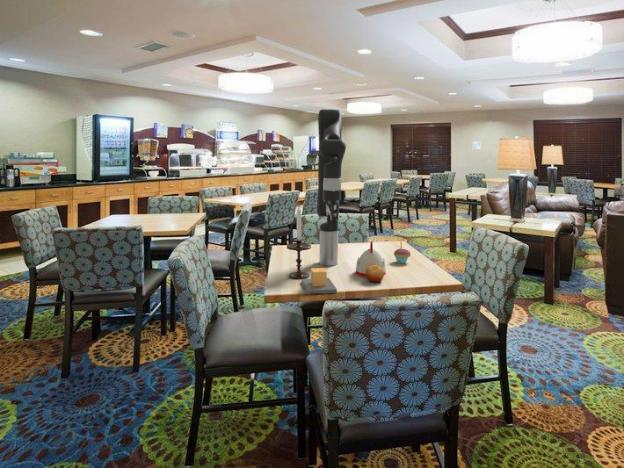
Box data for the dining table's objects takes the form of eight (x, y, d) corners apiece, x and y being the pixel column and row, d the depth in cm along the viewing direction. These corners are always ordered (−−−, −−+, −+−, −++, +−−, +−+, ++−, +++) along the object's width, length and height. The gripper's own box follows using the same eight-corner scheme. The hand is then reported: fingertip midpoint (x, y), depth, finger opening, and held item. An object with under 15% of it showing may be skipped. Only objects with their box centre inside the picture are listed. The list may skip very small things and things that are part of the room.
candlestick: (308, 280, 190) (308, 201, 184) (284, 279, 192) (283, 201, 186) (312, 273, 201) (313, 198, 194) (290, 272, 203) (289, 198, 196)
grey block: (301, 282, 188) (301, 268, 187) (328, 281, 190) (328, 267, 189) (307, 294, 172) (307, 279, 171) (336, 292, 174) (336, 278, 173)
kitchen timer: (384, 269, 208) (385, 239, 205) (386, 278, 195) (387, 245, 192) (355, 268, 210) (356, 238, 207) (355, 277, 196) (356, 245, 193)
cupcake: (390, 260, 225) (391, 238, 223) (404, 259, 228) (406, 237, 225) (398, 264, 217) (399, 241, 215) (413, 263, 220) (414, 240, 217)
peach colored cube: (311, 282, 183) (311, 268, 182) (323, 281, 184) (324, 268, 183) (313, 286, 178) (313, 272, 177) (326, 285, 179) (326, 271, 177)
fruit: (381, 274, 196) (383, 261, 191) (383, 287, 190) (386, 275, 185) (363, 274, 196) (365, 261, 190) (365, 287, 190) (367, 275, 184)
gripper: (320, 186, 185) (319, 223, 189) (326, 190, 171) (325, 230, 175) (337, 186, 186) (336, 223, 190) (344, 190, 173) (343, 230, 176)
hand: (331, 226), depth 182 cm, fingers open, 8 cm apart
